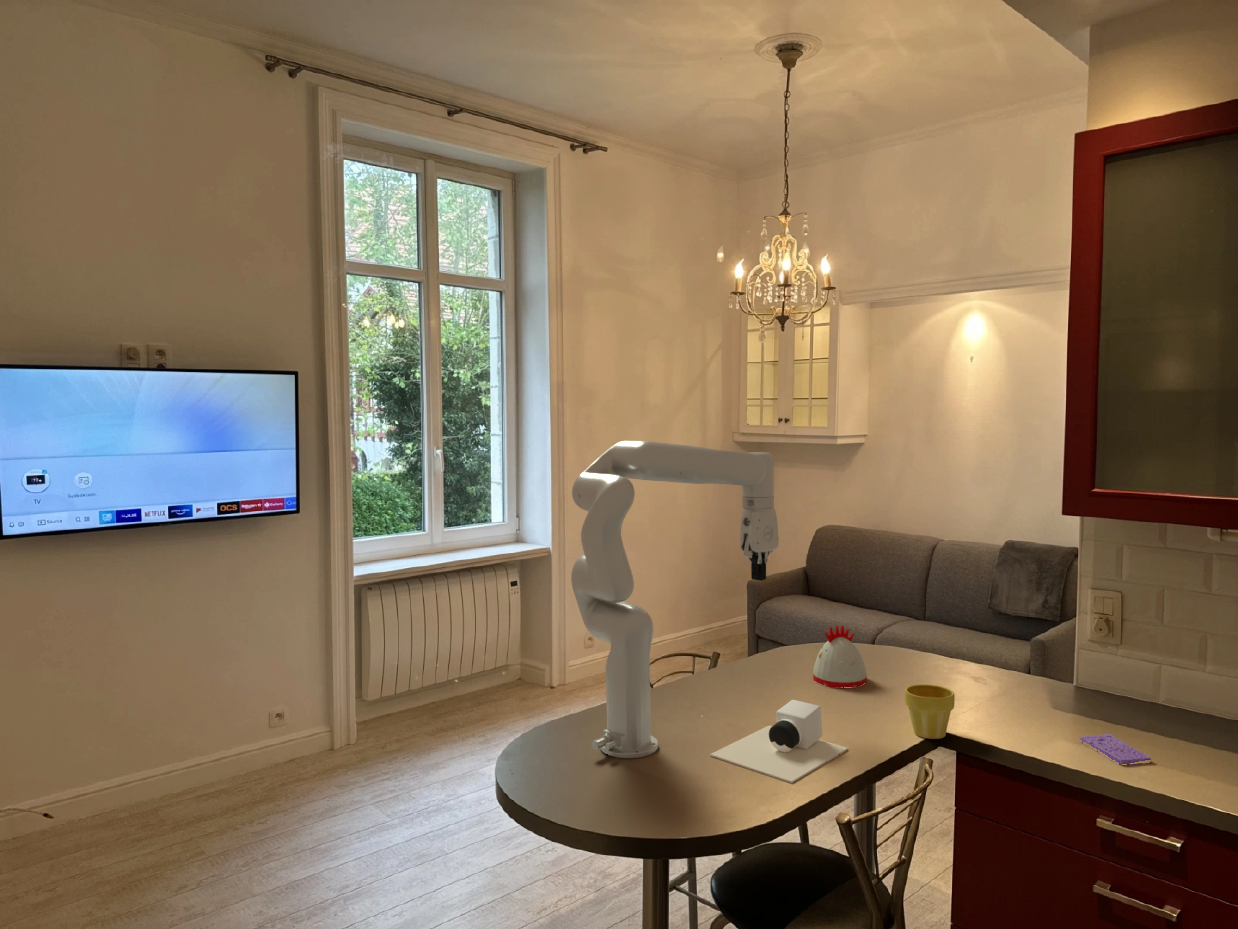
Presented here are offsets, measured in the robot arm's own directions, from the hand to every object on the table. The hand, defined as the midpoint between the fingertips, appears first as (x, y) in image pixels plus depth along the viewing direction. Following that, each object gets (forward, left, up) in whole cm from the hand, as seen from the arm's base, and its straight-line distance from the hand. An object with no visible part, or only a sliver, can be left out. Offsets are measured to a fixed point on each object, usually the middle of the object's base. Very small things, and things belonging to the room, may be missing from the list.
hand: (758, 579), depth 204 cm
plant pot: (+12, -37, -32) cm, 51 cm away
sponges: (+27, -70, -33) cm, 82 cm away
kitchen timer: (+33, -3, -32) cm, 46 cm away
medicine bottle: (-8, -18, -27) cm, 34 cm away
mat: (-19, -18, -32) cm, 41 cm away
